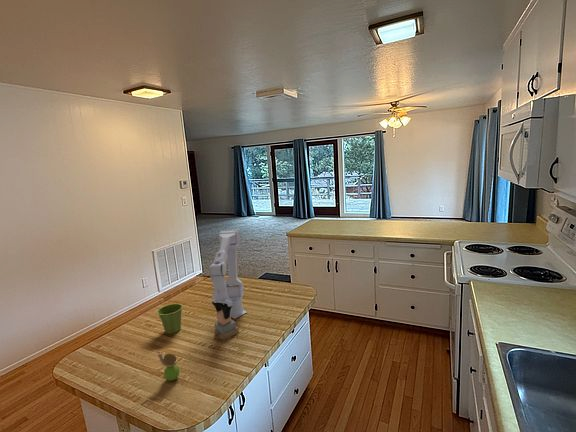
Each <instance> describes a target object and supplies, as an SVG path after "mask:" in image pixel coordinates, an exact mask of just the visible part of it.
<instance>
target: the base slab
mask: <svg viewBox="0 0 576 432" xmlns="http://www.w3.org/2000/svg"><path fill="white" fill-rule="evenodd" d="M213 330H214V335H215V336H217V337H219V338H220V339H221V340H223V341H225V340H228V339H229V338H231V337H233V336H235V335H237V334H239V333H240V330H239V327H238V326H237V325H236V328H235V329H233V330H231V331H228V332H226V333H224V334H221V333H220V332H219V331H218V330H216V329H215V328H214V329H213Z"/></svg>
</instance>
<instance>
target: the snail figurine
mask: <svg viewBox="0 0 576 432" xmlns="http://www.w3.org/2000/svg"><path fill="white" fill-rule="evenodd" d="M157 356H158V358H159V361H160V363H161V365H162V366H165V368H164V370H163V377H164V379H165V380H166V381H170V382H171V381H175V380H176V379H177V378H178V377H179V375H180V368H179V366H178V365H177V364H178V362H176V360H177V357H176V355H175V354H174V353H172V352H171V353H170V352H169V353H166V354H165V355H164V356H163V354H162V353H161V352H160V350H157Z"/></svg>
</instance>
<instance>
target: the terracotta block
mask: <svg viewBox="0 0 576 432" xmlns="http://www.w3.org/2000/svg"><path fill="white" fill-rule="evenodd" d="M216 319H217V322H218V323H220V324H222V325H225V324H227V323H229V322H231V319H232V317H231V314H230V317H229V318H228V319H225V318H224V315H223V311H222V310H220V311H218V312H217V311H216Z"/></svg>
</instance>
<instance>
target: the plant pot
mask: <svg viewBox="0 0 576 432" xmlns="http://www.w3.org/2000/svg"><path fill="white" fill-rule="evenodd" d="M183 306H184V305H183V304H182V303H170V304H166V305H164V306H162V307H160V308H158V309H157V310H156V314H157V315H158V317H159V318H160V320H161V324H162V326H163V329H164V332H165V333H166V334H169V335H172V334H176V333H178V332H179V331H181V329H182V312H183V311H182V310H183Z"/></svg>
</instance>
